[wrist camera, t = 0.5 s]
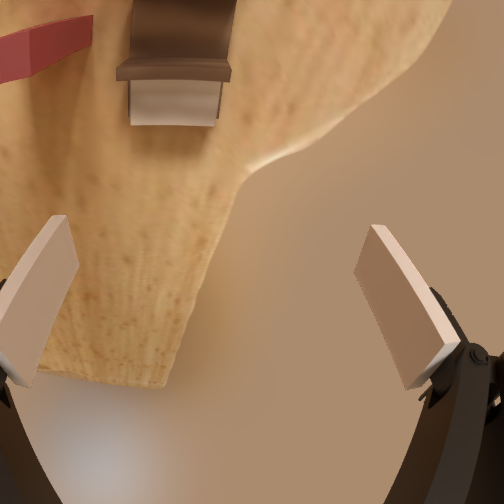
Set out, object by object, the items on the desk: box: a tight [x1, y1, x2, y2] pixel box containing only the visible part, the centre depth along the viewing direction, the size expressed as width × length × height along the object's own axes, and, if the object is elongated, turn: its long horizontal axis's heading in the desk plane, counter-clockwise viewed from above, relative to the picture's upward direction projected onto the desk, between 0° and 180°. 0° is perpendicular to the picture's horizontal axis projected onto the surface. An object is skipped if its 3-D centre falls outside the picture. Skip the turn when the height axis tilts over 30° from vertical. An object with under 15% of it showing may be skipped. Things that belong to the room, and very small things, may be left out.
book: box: [0, 15, 93, 84], centre depth 16 cm, size 4×9×14 cm, turn 81°
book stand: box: [116, 0, 237, 127], centre depth 23 cm, size 16×10×7 cm, turn 171°
